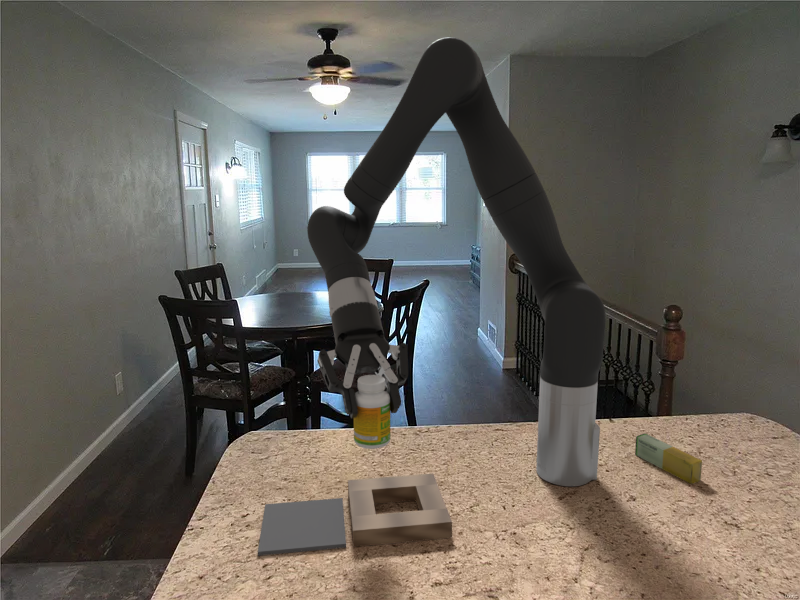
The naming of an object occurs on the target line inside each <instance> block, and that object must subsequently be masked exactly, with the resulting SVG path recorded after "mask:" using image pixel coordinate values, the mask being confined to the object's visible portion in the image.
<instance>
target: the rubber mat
mask: <svg viewBox="0 0 800 600" xmlns="http://www.w3.org/2000/svg"><path fill="white" fill-rule="evenodd" d="M343 499H344V498H343V497H338V498H337V497H336V498H327V499H312V500H302V501H301V500H300V501H289V502H276V503H265V505H264V511H263V516H262V521H261V528H260V533H259V534H260V535H259V542H258V548H257V556H259V557H260V556H269V555H271V556H272V555H279V554H290V553H291V554H293V553H302V552H312V551H323V550H332V549H343V548H344V549H345V548H347V537H346V526H345V525H346V524H345V512H344V500H343Z"/></svg>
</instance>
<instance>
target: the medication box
mask: <svg viewBox="0 0 800 600" xmlns="http://www.w3.org/2000/svg"><path fill="white" fill-rule="evenodd" d="M634 454H635V455H634V456H636V457H639V458H641V459H642V460H645V461H646V462H648V463H650V464H652V465H654V466H656V467H657V468H660V469H661V470H663V471H665V472H668V473H669V474H671V475H673V476H675V477H676V478H678V479H681V480H682V481H684V482H686V483H688V484H691V485H692V484H696V483H698V482H701V481H702V471H703V470H702V468H703V460H701V459H699V458H697V457H696V456H694V455H692V454H689V453H687V452H685V451H683V450H681V449H678V448H677V447H674V446H672V445H671V444H668V443H666V442H664V441H663V440H661V439H658V438H656V437H654V436H652V435H649V434H648V433H646V432H645V433H642V434H638V435H636V436H635V452H634Z"/></svg>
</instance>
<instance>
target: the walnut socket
mask: <svg viewBox="0 0 800 600" xmlns="http://www.w3.org/2000/svg"><path fill="white" fill-rule="evenodd" d="M347 494H348V495H347V496H348V504H349V505H348V506H349V514H350V526H351V534H352V535H351V536H352V544H353V548H356V547H366V546H377V545H387V544H389V545H390V544H396V543H397V544H398V543H409V542H419V541H431V540H442V539H452V538H453V521H452V517H451V515H450V513H449V509H448V507H447V505H446V502H445V500H444V497H443V495H442V492H441V489H440V486H439V485H438V482H437V479H436V477H435V473H421V474H409V475H395V476H383V477H372V478H371V477H370V478H358V479H348V480H347ZM412 501H415V502H416V503H415V504H417V509H418V510H414V511H413V510H411V511H410V510H409V511H402V512H401V511H399V512H390V513H379V514H378V513H377V514H376V508H375V504H387V503H390V504H391V503H399V502H400V503H401V502H412Z"/></svg>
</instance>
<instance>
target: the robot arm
mask: <svg viewBox="0 0 800 600" xmlns="http://www.w3.org/2000/svg"><path fill="white" fill-rule="evenodd" d="M445 114H446V116H447V117H448V119H449V121H450V122H451V124H452V126H453V127H454V129H455V130H456V133H457V134H458V136H459V138H460V141H461V142H462V145H463V148H464V151H465V154H466V158H467V162H468V165H469V168H470V171H471V174H472V177H473V180H474V182H475V185H476V188H477V190H478V191H477V192H478V193H479V195H480V198H481V199H482V202H483V204H484V205H485V207H486V209H487V211H488V213H489V216H490V217H491V219H492V220H493V223H494V224H495V226H496V228H497V229H498V231H499V232H500V234H501V236H502V237H503V239H504V240H505V242H506V243H507V244H508V247H509V248H510V249H511V250H512V252H513V253H514V255H515V256H516V257H517V259H518V260H519V262H520V263H521V265H522V267H523V269H524V271H525V273H526V275H527V277H528V279H529V282H530V284H531V286H532V289H533V292H534V294H535V297H536V299H537V302H538V306H539V309H540V314H541V315H542V318H543V321H544V333H543V335H544V337H543V339H544V340H543V353H542V359H541V361H540V369H539V370H540V371H539V375H540V376H539V394H538V397H539V398H538V399H539V400H538V420H537V421H538V422H537V441H536V442H537V443H536V445H537V446H536V461H535V462H536V466H535V467H536V473H537V476H538V477H540V478H541V479H543V480H544V481H546V482H548V483H551V484H553V485H557V486H562V487H579V486H580V487H581V486H583V485H585V484H588V483H590V481H595V480H596V481H597V479H598V468H599V467H598V466H599V454H600V453H599V451H600V449H599V447H600V437H601V435H600V434H601V427H600V425H599V424H597V423H596V417H597V416H596V415H597V403H598V402H597V399H598V385H599V384H598V383H599V381H598V380H599V372H600V370H601V367H602V363H603V357H604V348H605V347H604V346H605V336H606V321H607V315H606V307H605V305H604V302H603V300H602V299H601V297H600V296H599V294H597V293H596V291H595V290H593V289H592V288H591V287H590V286H589V285H588V284H587V282H586V280H584V278H583V276H582V275H581V274H580V272H579V270H578V269H577V267H576V266H575V264H574V262H573V260H572V259H571V257H570V256H569V254H568V252H567V250H566V249H565V248H566V247H565V245H564V243H563V240H562V238H561V235H560V231H559V227H558V223H557V221H556V216H555V213H554V211H553V208H552V205H551V202H550V199H549V197H548V195H547V192H546V190H545V189H544V187H543V184H542V183H541V180H540V178H539V177H538V174H537V173H536V171H535V169H534V167H533V165H532V163H531V161H530V159H529V158H528V156H527V155H526V153H525V151H524V150H523V148H522V146H521V145H520V143H519V141H518V140H517V138H516V137H515V136H514V134H513V132H512V131H511V129H510V128H509V126H508V125H507V124H506V121H505V119H504V118H503V116H502V114H501V113H500V111H499V108H498V106H497V103H496V101H495V98H494V95H493V92H492V90H491V88H490V86H489V83H488V80H487V76H486V74H485V70H484V68H483V64H482V62H481V59H480V57H479V55H478V54H477V52H476V51H475V50H474V49H473V48H472V46H470V45H469V44H468V43H467V42H465V41H464V40H463V39H460V38H457V37H452V36H451V37H450V36H449V37H441V38H439V39H436V40H435V41H433V42H432V43H431V44H429V45H428V46H427V48H426V49H425V50H424V51H423V53H422V56H421V57H420V59H419V61H418V64H417V66H416V68H415V70H414V72H413V74H412V76H411V78H410V80H409V82H408V85H407V86H406V89H405V90H404V93H403V95H402V97H401V99H400V101H399V103H398V104H397V106H396V107H395V109H394V112H393V113H392V115H391V116H390V118H389V120H388V122H387V123H386V124H385V126H384V127H383V129H382V131H381V132H380V134H378V136H377V138H376V139H375V141H374V143H373V144H372V145H371V147H370V148H369V150H368V151H367V153H366V154H365V155H364V156H363V158H362V159H361V161H360V163H359V164H358V165H357V166H356V168H355V169H354V171H353V173H352V174H351V176H350V177H349V178H348V180H347V182H346V183H345V185H344V187H343V194H344V197H345V198H346V200H348V201H349V202H350V203H351V204H352V205H353V206H354V209H353V211H352V213H351V214H349V213H347V212H345V211H343V210H340V209H339V208H335V207H333V206H331V205H329V206H328V205H325V206H324V205H323V206H319V207H318V208H316V209H315V210H314V211H313V212H312V213H311V215H310V217H309V218H308V222H307V228H306V230H307V238H308V242H309V245H310V247H311V249H312V251H313V253H314V255H315V258H316V260H317V261H318V264H319V265H320V267H321V269H322V271H323V273H324V276H325V282H326V288H327V293H328V294H327V295H328V307H329V317H330V318H331V324H332V325H331V326H332V330H333V334H334V335H333V336H334V341H335V342H334V343H335V347H334V349H332V350H328V351H327V350H325V349H321V350H319V353H318V356H317V360H316V361H317V364H318V366H319V367H318V368H319V369H320V372H321V374H322V377H323V379H324V382H325V385H326V387H327V389H328V392H329V393H339V394H341V395H342V402H343V406H344V412H345V414H346V415H349V416H350V419H354V418H356V417H357V414H358V410H357V405H356V399H355V390H354V388H352V384H353V381H354V377H355V375H362V374H364V373H367V374H374V375H379V376H382V377H384V378H385V388H386V390H385V391H386V392H388V394H389V395H390V414H396V413H397V412H398V411H399V409H400V407H401V405H402V398H401V394H400V389H399V386H403V385H405V383H406V381H407V379H408V378H409V377H408V376H409V359H408V355H409V354H408V344H407V343H405V342H401V343H399V345H397V344H390V342H389V341H387V339H386V338H385V333H384V329H383V324H382V320H381V316H380V311H379V308H378V307H379V306H378V302H377V298H376V294H375V291H374V289H373V287H372V282H371V278H370V274H369V269H368V266H367V263H366V261H365V258H363V256H362V255H360V253H361V252H362V251H363V250H364V249H365V247H366V246H367V244H368V242H369V240H370V237H371V235H372V232H373V229H374V226H375V224H376V222H377V219H378V216H379V214H380V211H381V209H382V207H383V206H384V204H385V203H386V201H387V200H388V198H389V197H390V195H391V194H392V193H393V191H395V189H396V188H397V186H398V185H399V183H400V182H401V181H402V179H403V177H404V175H405V174H406V173H407V171H408V169H409V166H410V165H411V164H412V161H413V159H414V157H415V156H416V154H417V152H418V150H419V148H420V147H421V145H422V143H423V141H424V140H425V138H426V137H427V135H428V134H429V133H430V131H431V130H432V129H433V127H435V125H436V124H437V122H438V121H439V120H440V119H441V118H442V117H443V116H444V115H445ZM388 354H390V355H391V356H392V359H393V360H394V361H396V374H395V372H394V371H393V370H392V367H391V365H390V363H389V362H388V360H387V356H388ZM335 359H336V360H337V361H338V362H339V363H341V365H343V366H344V367H345V369H346V370H345V375H344V378H343V380H340V379H339V378H338V376H337V373H336V371H335V368H334V366H333V365H334V364H335V363H334V362H335Z"/></svg>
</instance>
